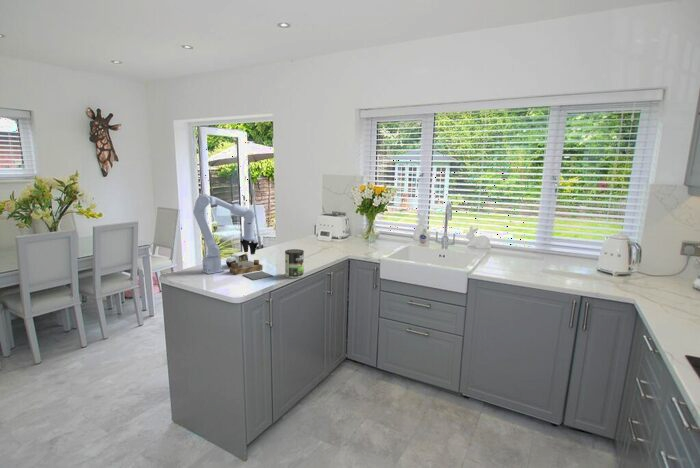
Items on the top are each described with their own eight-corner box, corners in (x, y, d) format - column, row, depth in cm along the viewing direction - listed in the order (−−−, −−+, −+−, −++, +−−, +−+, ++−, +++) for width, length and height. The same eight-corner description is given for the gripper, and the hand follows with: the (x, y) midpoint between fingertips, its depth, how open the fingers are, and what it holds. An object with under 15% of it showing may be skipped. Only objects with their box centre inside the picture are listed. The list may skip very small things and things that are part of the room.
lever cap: (242, 267, 209) (242, 262, 209) (238, 266, 213) (238, 261, 212) (253, 265, 214) (253, 260, 214) (249, 264, 217) (249, 259, 217)
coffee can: (307, 275, 209) (307, 250, 206) (295, 279, 200) (295, 253, 198) (293, 272, 214) (293, 248, 212) (281, 276, 205) (281, 251, 203)
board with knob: (235, 275, 206) (235, 264, 205) (229, 272, 211) (229, 262, 210) (262, 270, 217) (262, 260, 216) (256, 267, 222) (256, 257, 221)
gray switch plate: (253, 280, 196) (253, 279, 196) (242, 275, 205) (242, 274, 205) (273, 276, 205) (273, 275, 204) (261, 271, 213) (261, 271, 213)
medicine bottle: (249, 263, 228) (233, 270, 218) (241, 262, 232) (225, 268, 222) (247, 252, 226) (231, 258, 216) (240, 251, 230) (223, 256, 220)
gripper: (261, 231, 213) (261, 254, 215) (248, 228, 223) (249, 250, 225) (250, 232, 208) (251, 256, 210) (237, 229, 218) (238, 251, 220)
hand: (249, 253), depth 217 cm, fingers open, 7 cm apart
